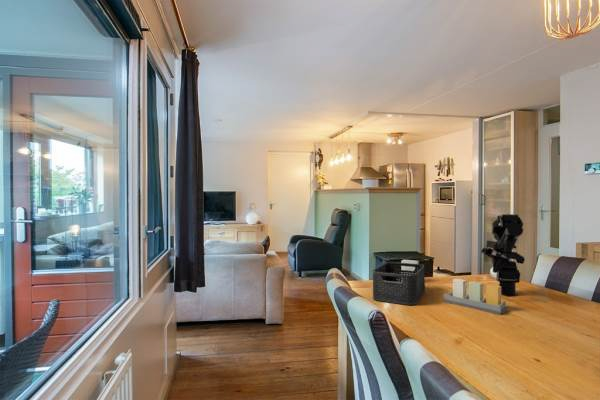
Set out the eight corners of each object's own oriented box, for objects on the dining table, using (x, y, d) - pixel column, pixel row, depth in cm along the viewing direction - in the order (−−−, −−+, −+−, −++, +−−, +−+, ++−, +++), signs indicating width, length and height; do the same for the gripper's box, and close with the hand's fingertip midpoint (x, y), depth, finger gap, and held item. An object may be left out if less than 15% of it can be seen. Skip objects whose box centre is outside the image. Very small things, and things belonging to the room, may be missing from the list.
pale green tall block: (472, 299, 150) (472, 281, 150) (483, 301, 146) (483, 283, 146) (468, 301, 148) (468, 282, 148) (479, 303, 144) (479, 284, 144)
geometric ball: (502, 284, 191) (512, 273, 188) (492, 280, 189) (502, 269, 185) (493, 274, 198) (503, 264, 195) (484, 271, 195) (493, 260, 192)
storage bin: (387, 286, 180) (386, 260, 180) (426, 290, 170) (425, 263, 170) (370, 301, 155) (370, 271, 154) (415, 307, 145) (415, 275, 145)
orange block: (489, 303, 145) (489, 284, 145) (501, 305, 141) (501, 286, 141) (486, 304, 142) (486, 285, 142) (498, 307, 139) (497, 287, 139)
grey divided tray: (452, 298, 157) (452, 291, 157) (507, 310, 140) (507, 302, 140) (443, 301, 152) (443, 294, 152) (500, 314, 135) (500, 306, 135)
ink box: (419, 282, 187) (419, 260, 187) (417, 284, 183) (417, 261, 183) (403, 280, 191) (403, 259, 191) (401, 282, 187) (401, 260, 187)
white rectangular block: (456, 296, 155) (456, 278, 155) (466, 298, 152) (466, 280, 152) (452, 297, 153) (452, 279, 153) (463, 299, 150) (462, 281, 149)
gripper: (479, 231, 161) (465, 260, 159) (512, 234, 142) (497, 267, 140) (497, 242, 163) (483, 271, 161) (531, 246, 145) (517, 279, 143)
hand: (494, 272), depth 151 cm, fingers closed
